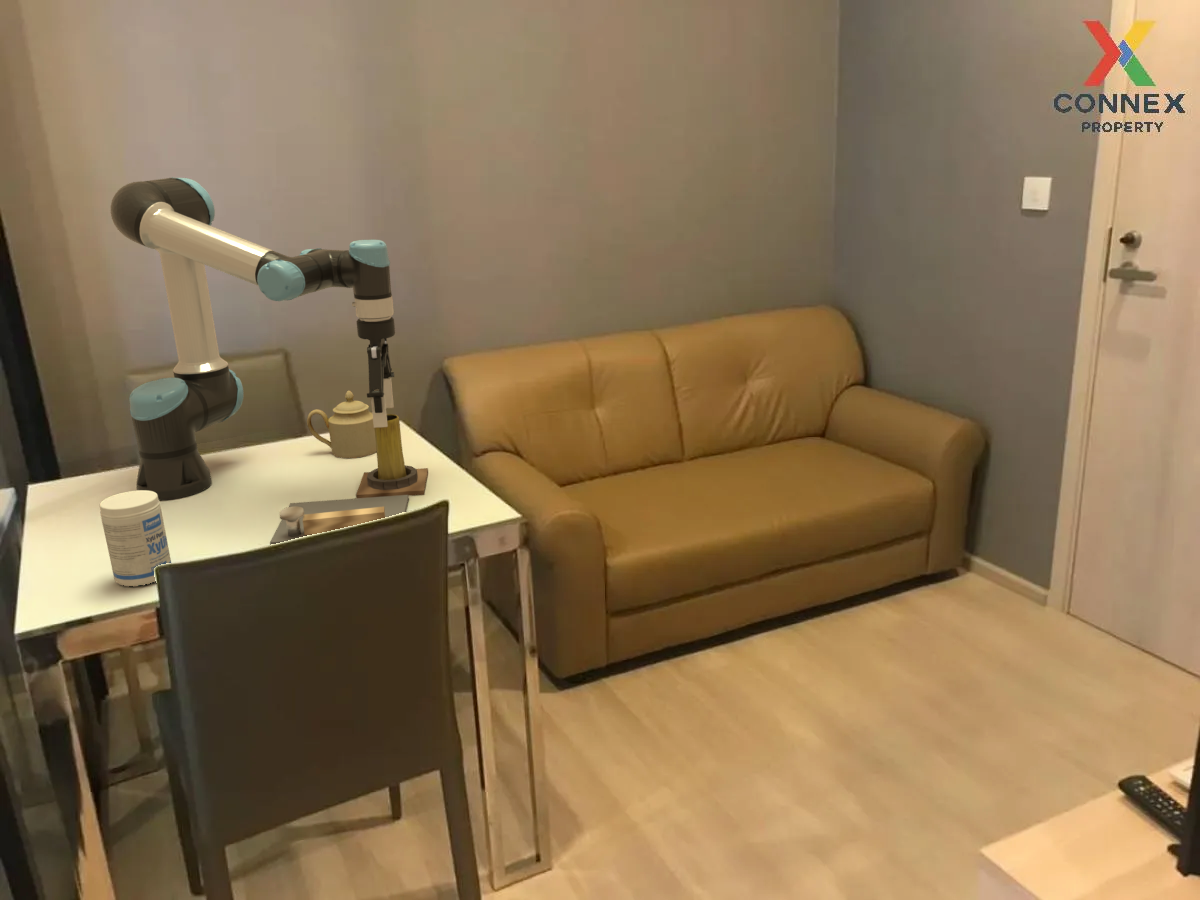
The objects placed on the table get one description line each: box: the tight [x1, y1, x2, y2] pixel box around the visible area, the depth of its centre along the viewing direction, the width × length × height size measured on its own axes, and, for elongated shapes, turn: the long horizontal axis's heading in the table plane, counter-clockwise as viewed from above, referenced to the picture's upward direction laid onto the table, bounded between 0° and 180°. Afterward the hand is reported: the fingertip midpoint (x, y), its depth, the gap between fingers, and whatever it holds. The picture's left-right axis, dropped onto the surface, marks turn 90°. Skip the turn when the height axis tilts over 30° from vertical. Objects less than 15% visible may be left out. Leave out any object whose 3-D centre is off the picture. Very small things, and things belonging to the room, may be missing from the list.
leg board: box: [269, 495, 410, 545], centre depth 198 cm, size 24×20×1 cm
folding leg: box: [278, 506, 385, 535], centre depth 191 cm, size 19×4×5 cm, turn 101°
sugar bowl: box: [306, 390, 377, 459], centre depth 237 cm, size 15×11×15 cm
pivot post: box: [286, 518, 301, 537], centre depth 190 cm, size 2×2×4 cm
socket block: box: [355, 465, 429, 498], centre depth 216 cm, size 14×14×3 cm
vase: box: [374, 413, 407, 480], centre depth 214 cm, size 6×6×14 cm
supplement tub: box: [99, 490, 172, 587], centre depth 175 cm, size 10×10×15 cm
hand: (384, 417), depth 212 cm, fingers open, 13 cm apart
